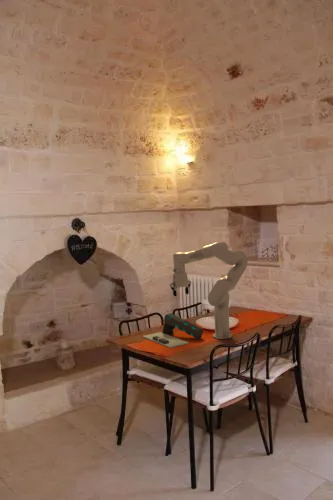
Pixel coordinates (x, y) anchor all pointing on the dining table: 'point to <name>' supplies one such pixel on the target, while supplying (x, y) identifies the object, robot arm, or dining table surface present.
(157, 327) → the dining table surface
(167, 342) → the bound lead
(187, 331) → the gun
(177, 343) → the mat
